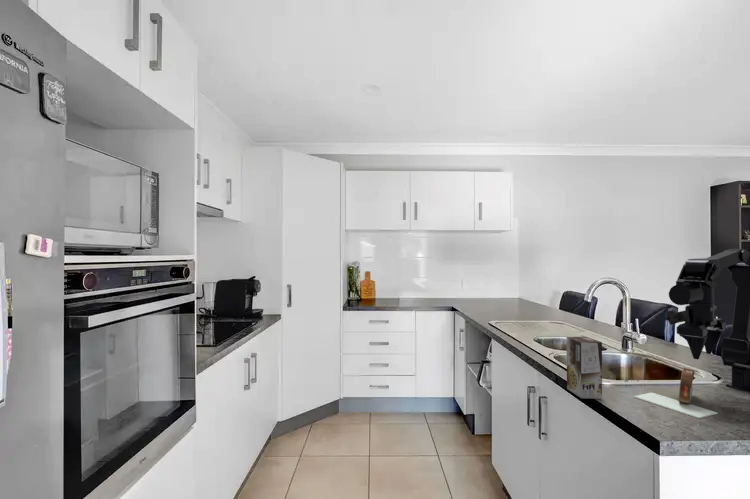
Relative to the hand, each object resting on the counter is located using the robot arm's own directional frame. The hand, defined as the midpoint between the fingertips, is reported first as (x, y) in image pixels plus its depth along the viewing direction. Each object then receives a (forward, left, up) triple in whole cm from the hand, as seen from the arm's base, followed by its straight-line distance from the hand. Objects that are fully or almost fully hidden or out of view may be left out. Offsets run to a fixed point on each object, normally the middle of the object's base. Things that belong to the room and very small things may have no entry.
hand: (702, 356), depth 121 cm
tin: (+8, 0, -12) cm, 14 cm away
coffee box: (+29, -16, -12) cm, 35 cm away
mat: (+14, 0, -12) cm, 19 cm away
